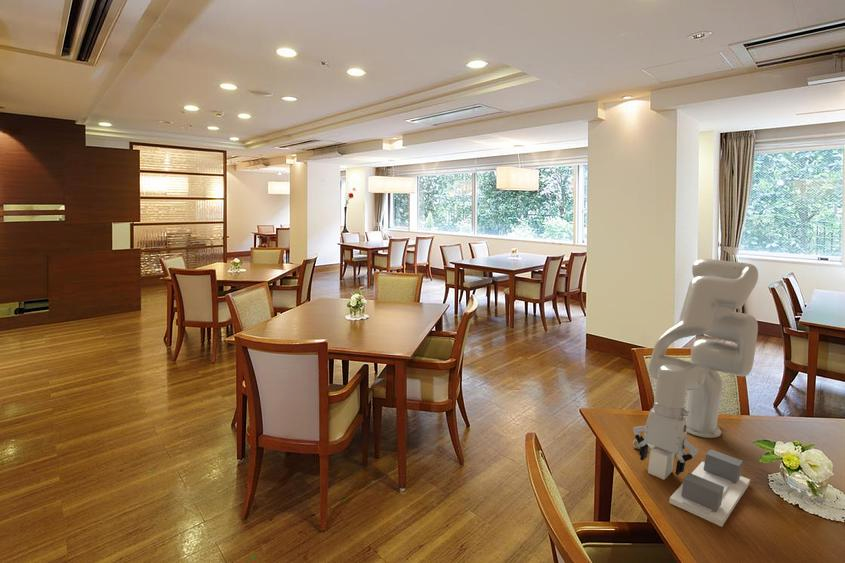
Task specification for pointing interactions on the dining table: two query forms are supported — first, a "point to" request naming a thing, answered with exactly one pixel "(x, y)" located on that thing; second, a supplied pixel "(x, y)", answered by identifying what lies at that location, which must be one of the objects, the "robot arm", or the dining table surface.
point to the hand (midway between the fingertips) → (660, 465)
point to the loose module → (660, 462)
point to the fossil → (636, 445)
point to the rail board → (725, 499)
